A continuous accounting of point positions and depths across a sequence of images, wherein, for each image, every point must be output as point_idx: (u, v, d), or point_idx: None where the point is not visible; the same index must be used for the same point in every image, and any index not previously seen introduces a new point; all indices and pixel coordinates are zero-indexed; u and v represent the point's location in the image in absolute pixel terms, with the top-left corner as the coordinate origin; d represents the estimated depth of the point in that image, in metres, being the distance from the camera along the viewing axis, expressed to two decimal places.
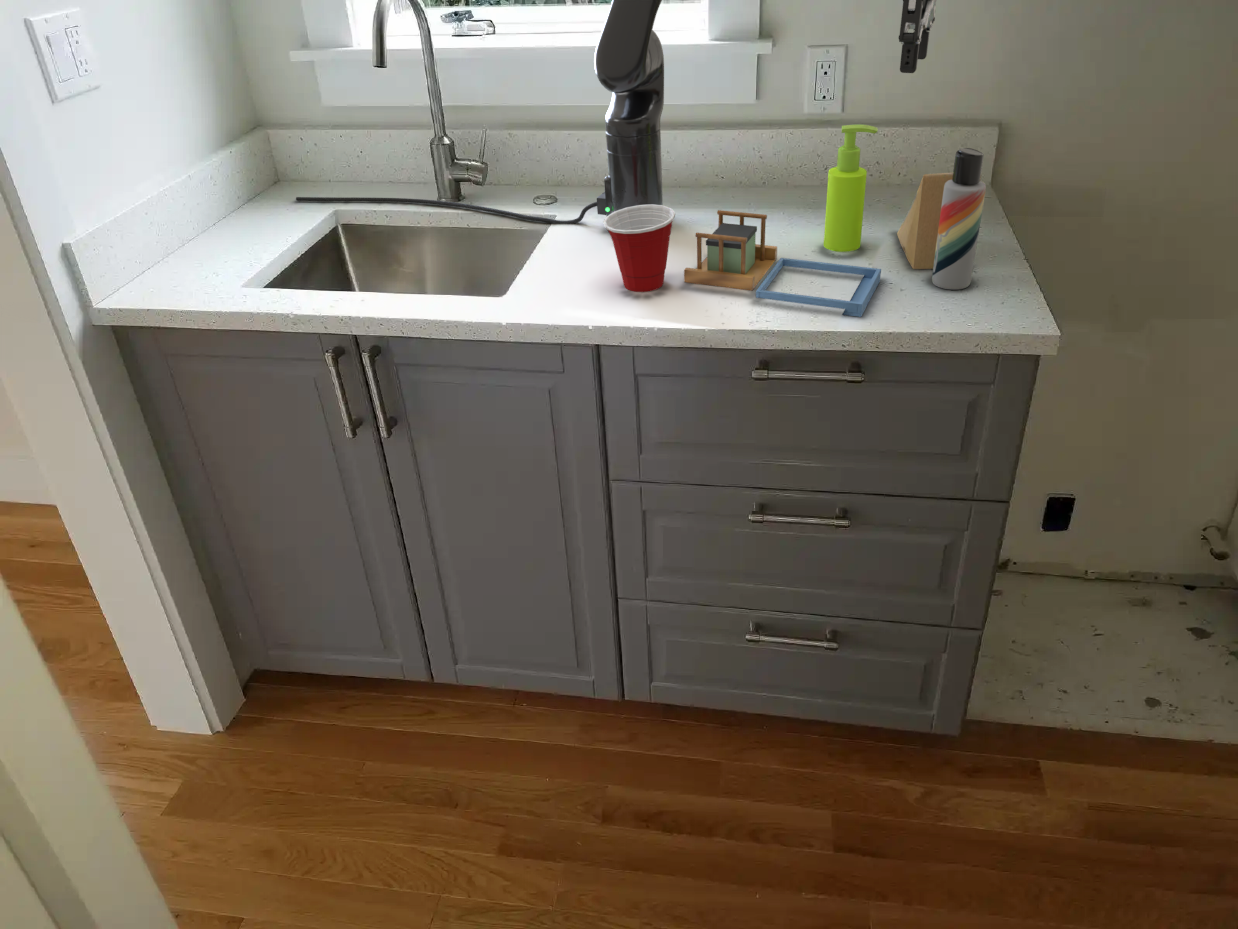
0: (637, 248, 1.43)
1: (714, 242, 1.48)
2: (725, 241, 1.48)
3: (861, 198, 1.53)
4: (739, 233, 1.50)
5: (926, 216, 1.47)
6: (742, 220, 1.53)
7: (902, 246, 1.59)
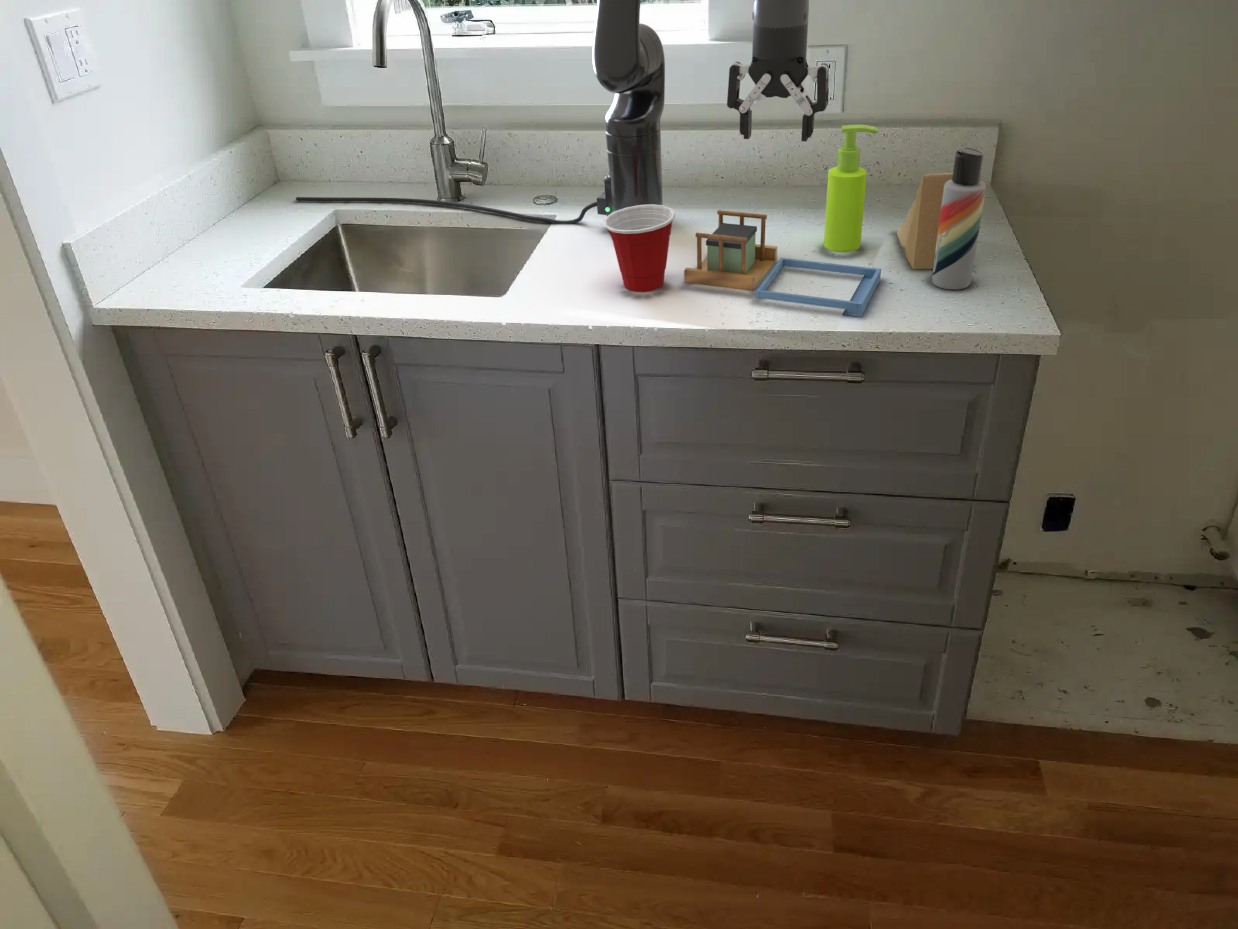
0: (637, 248, 1.43)
1: (714, 242, 1.48)
2: (725, 241, 1.48)
3: (861, 198, 1.53)
4: (739, 233, 1.50)
5: (926, 216, 1.47)
6: (742, 220, 1.53)
7: (902, 246, 1.59)
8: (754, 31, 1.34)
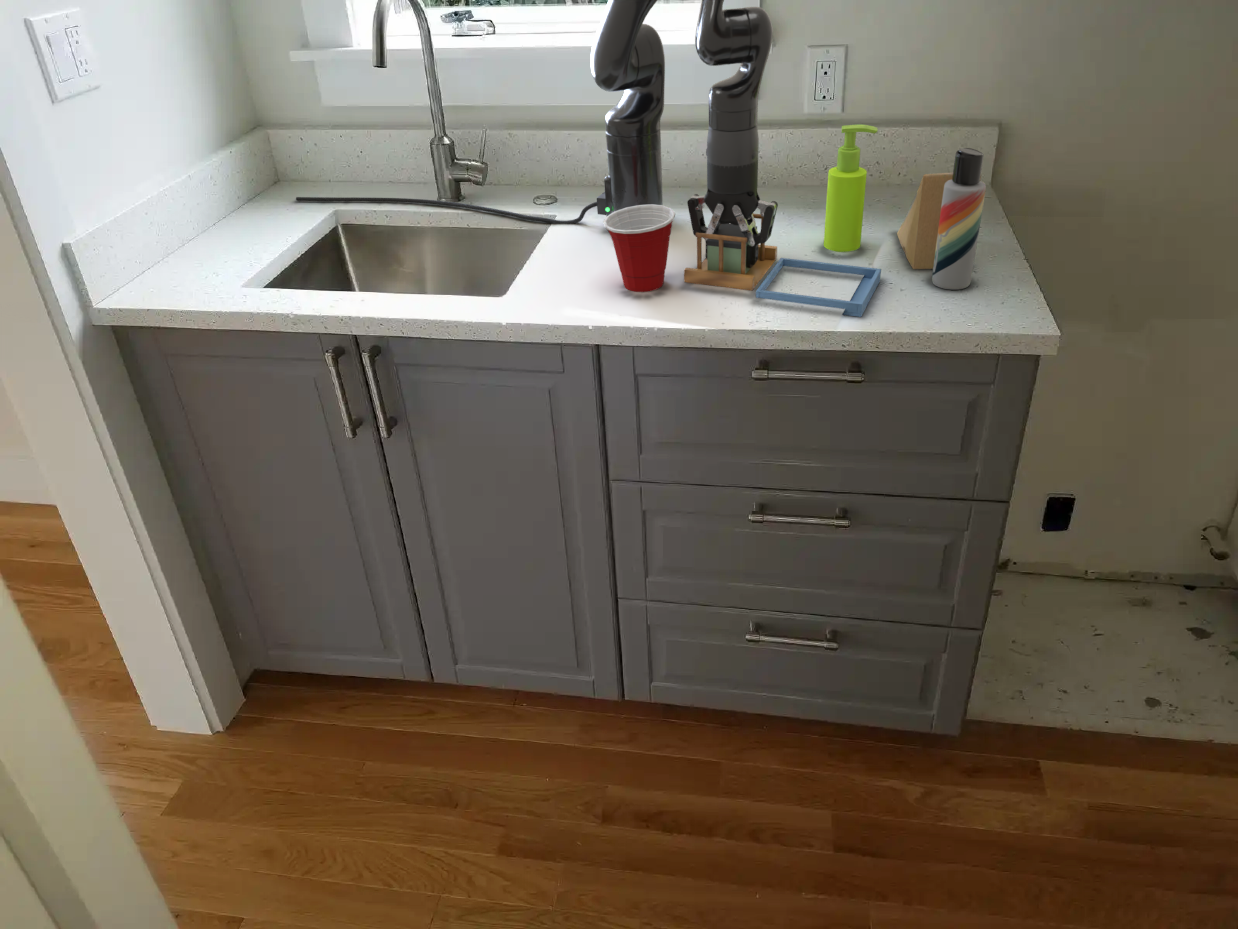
0: (637, 248, 1.43)
1: (714, 242, 1.48)
2: (725, 241, 1.48)
3: (861, 198, 1.53)
4: (739, 233, 1.50)
5: (926, 216, 1.47)
6: None
7: (902, 246, 1.59)
8: (707, 166, 1.44)
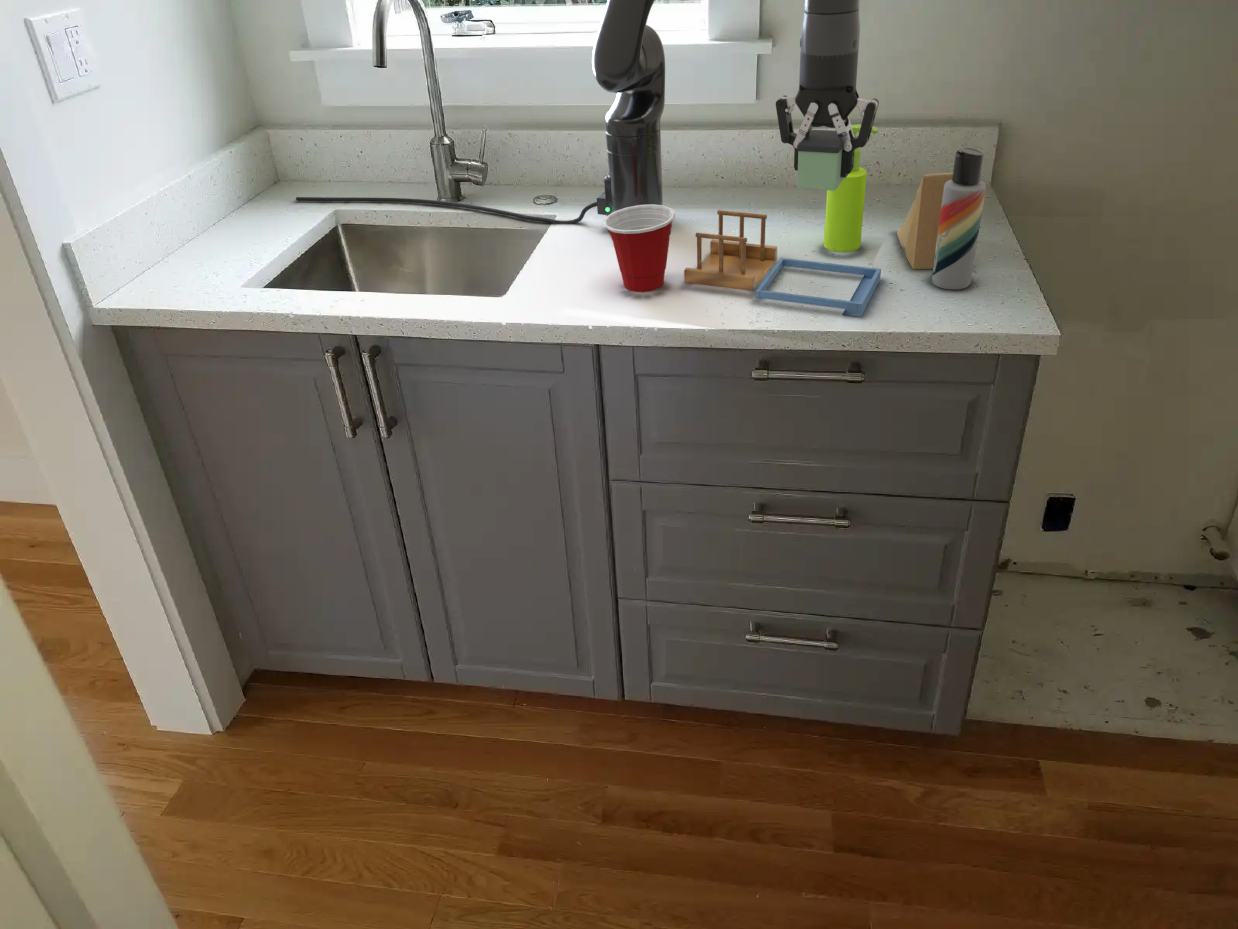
0: (637, 248, 1.43)
1: (807, 146, 1.32)
2: (819, 145, 1.32)
3: (861, 198, 1.53)
4: (833, 138, 1.34)
5: (926, 216, 1.47)
6: (742, 220, 1.53)
7: (902, 246, 1.59)
8: (801, 59, 1.29)
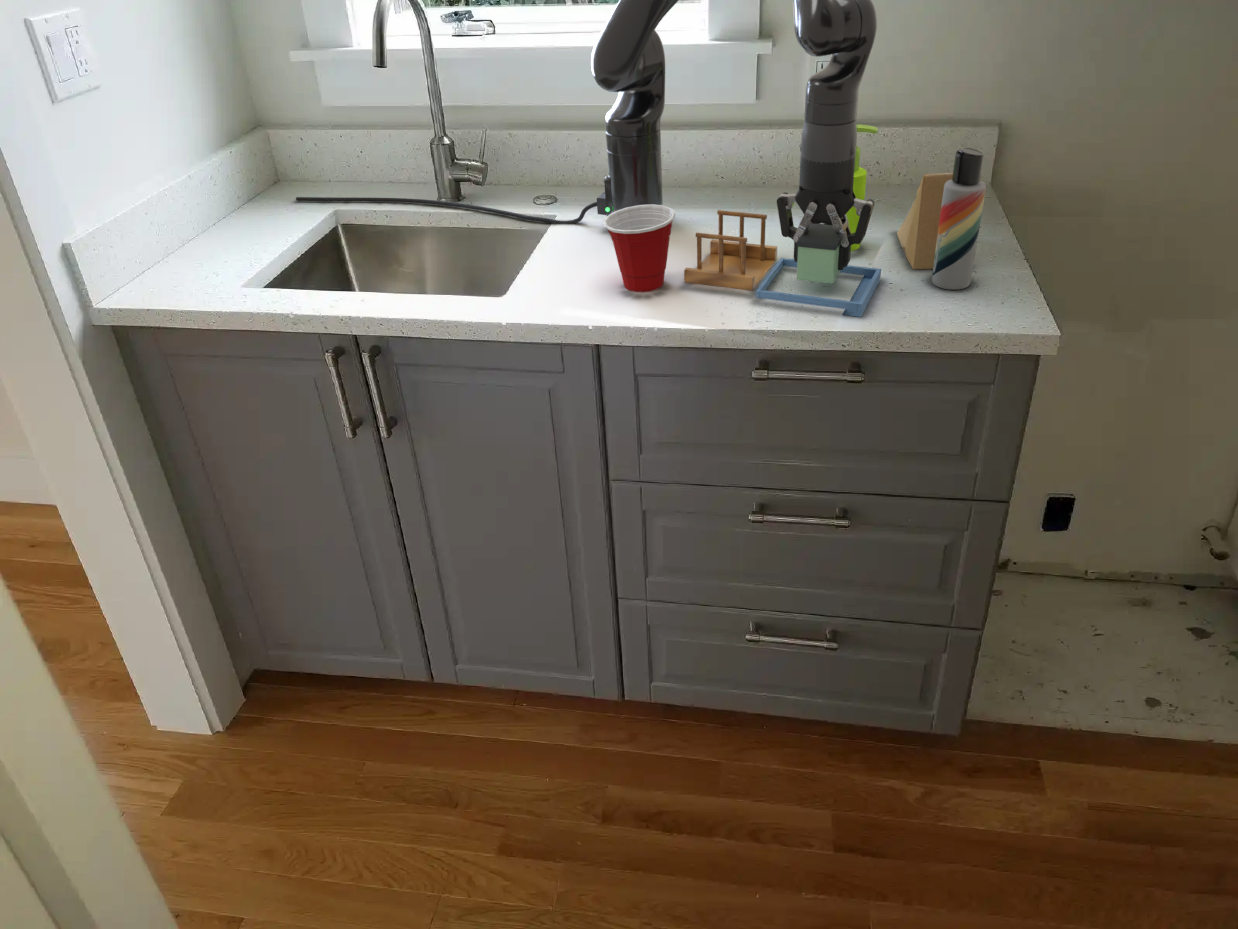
0: (637, 248, 1.43)
1: (806, 243, 1.40)
2: (818, 242, 1.40)
3: (861, 198, 1.53)
4: (831, 233, 1.42)
5: (926, 216, 1.47)
6: (742, 220, 1.53)
7: (902, 246, 1.59)
8: (801, 162, 1.36)
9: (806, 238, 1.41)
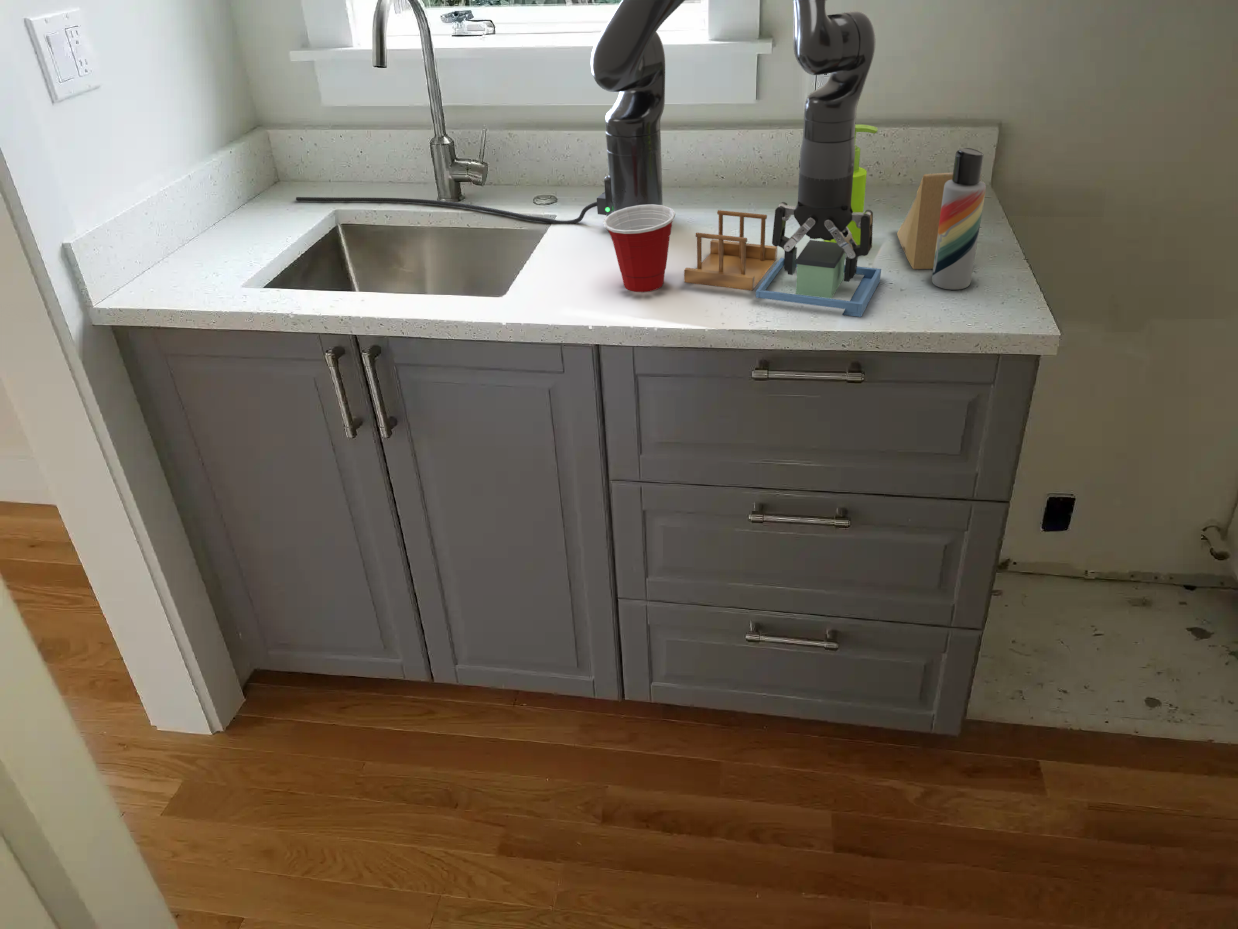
0: (637, 248, 1.43)
1: (805, 261, 1.41)
2: (817, 260, 1.41)
3: (861, 198, 1.53)
4: (830, 251, 1.43)
5: (926, 216, 1.47)
6: (742, 220, 1.53)
7: (902, 246, 1.59)
8: (800, 179, 1.37)
9: (805, 256, 1.42)
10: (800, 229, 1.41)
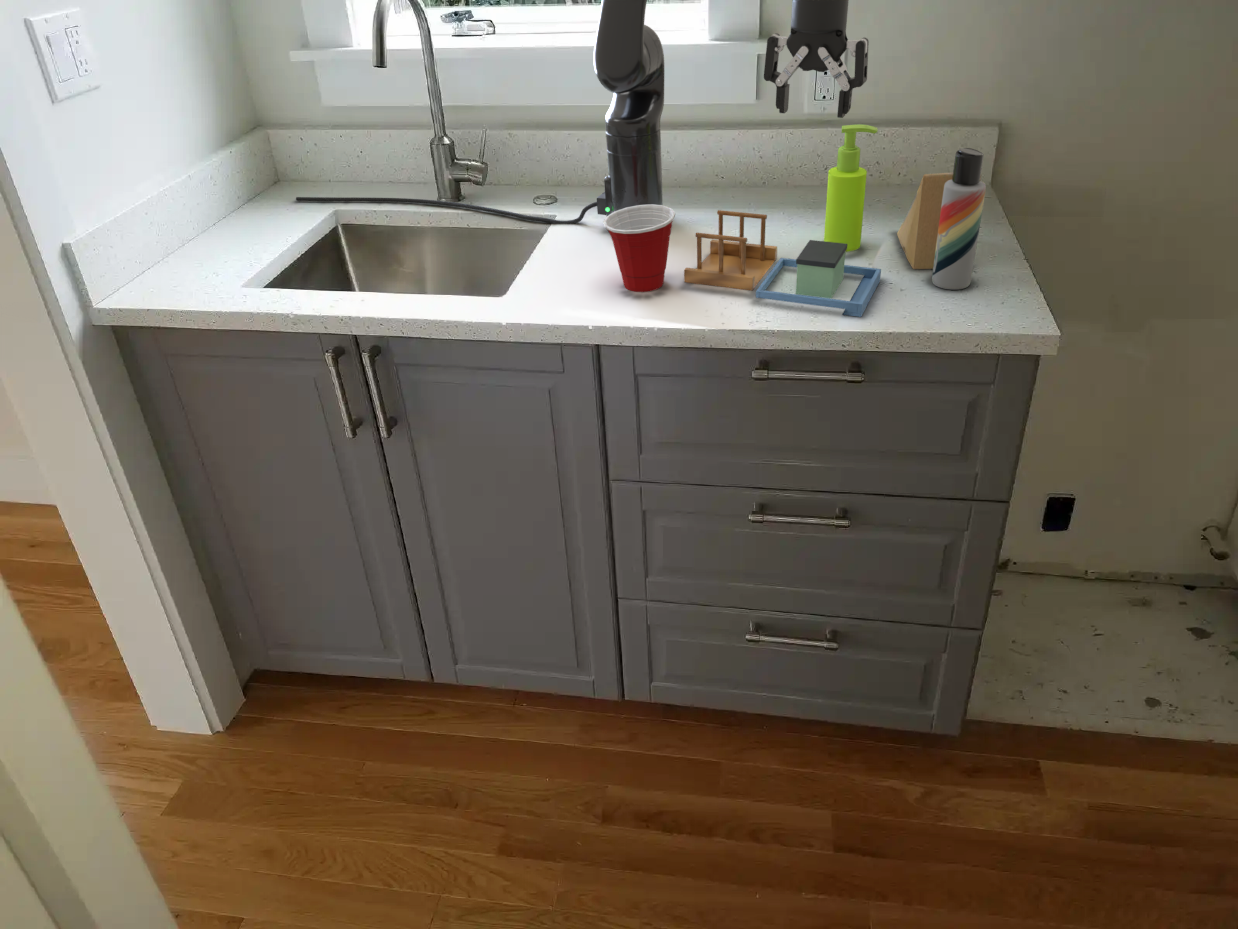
0: (637, 248, 1.43)
1: (805, 261, 1.41)
2: (817, 260, 1.41)
3: (861, 198, 1.53)
4: (830, 251, 1.43)
5: (926, 216, 1.47)
6: (742, 220, 1.53)
7: (902, 246, 1.59)
8: (793, 2, 1.32)
9: (805, 256, 1.42)
10: (793, 59, 1.36)
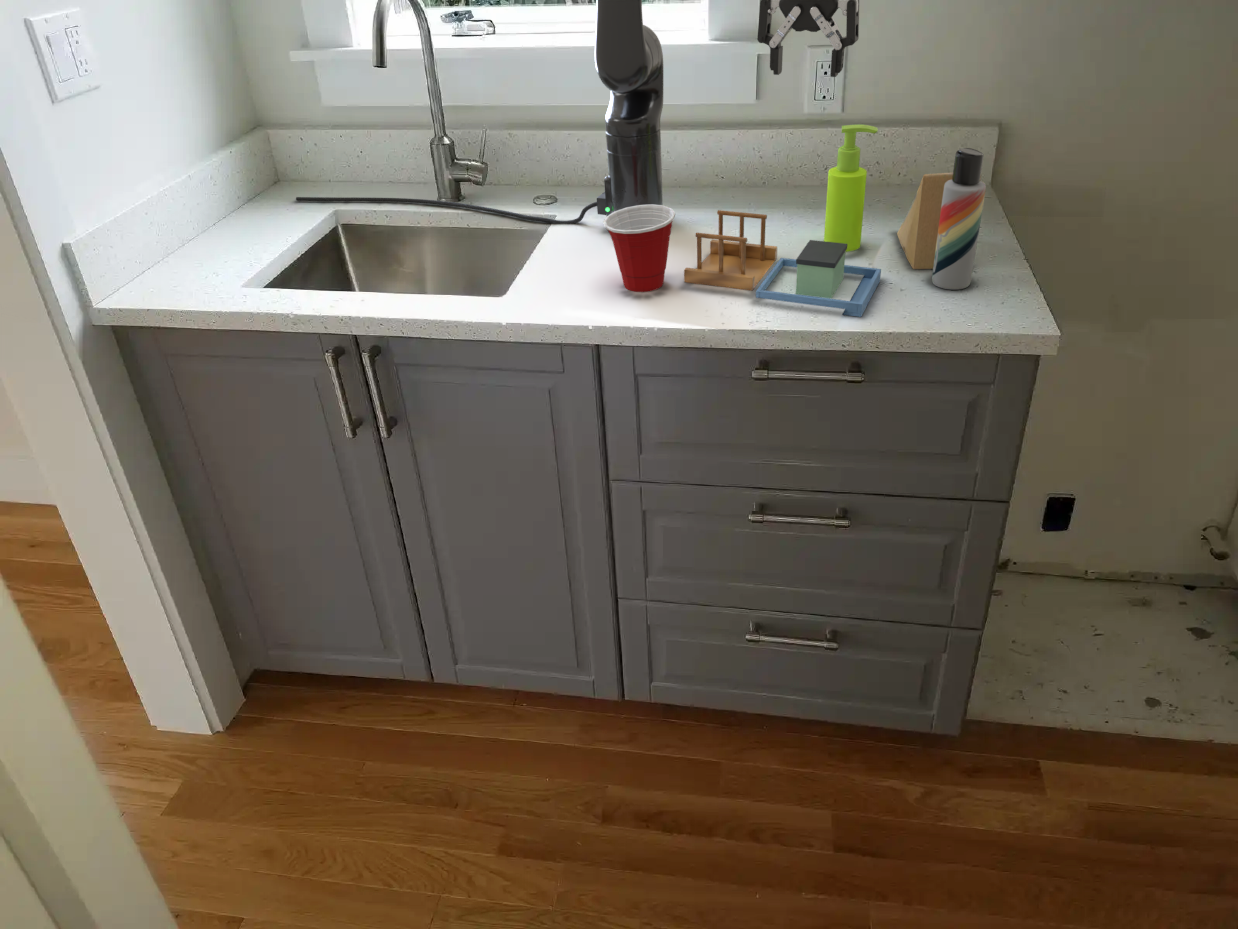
0: (637, 248, 1.43)
1: (805, 261, 1.41)
2: (817, 260, 1.41)
3: (861, 198, 1.53)
4: (830, 251, 1.43)
5: (926, 216, 1.47)
6: (742, 220, 1.53)
7: (902, 246, 1.59)
8: None
9: (805, 256, 1.42)
10: (786, 20, 1.39)
